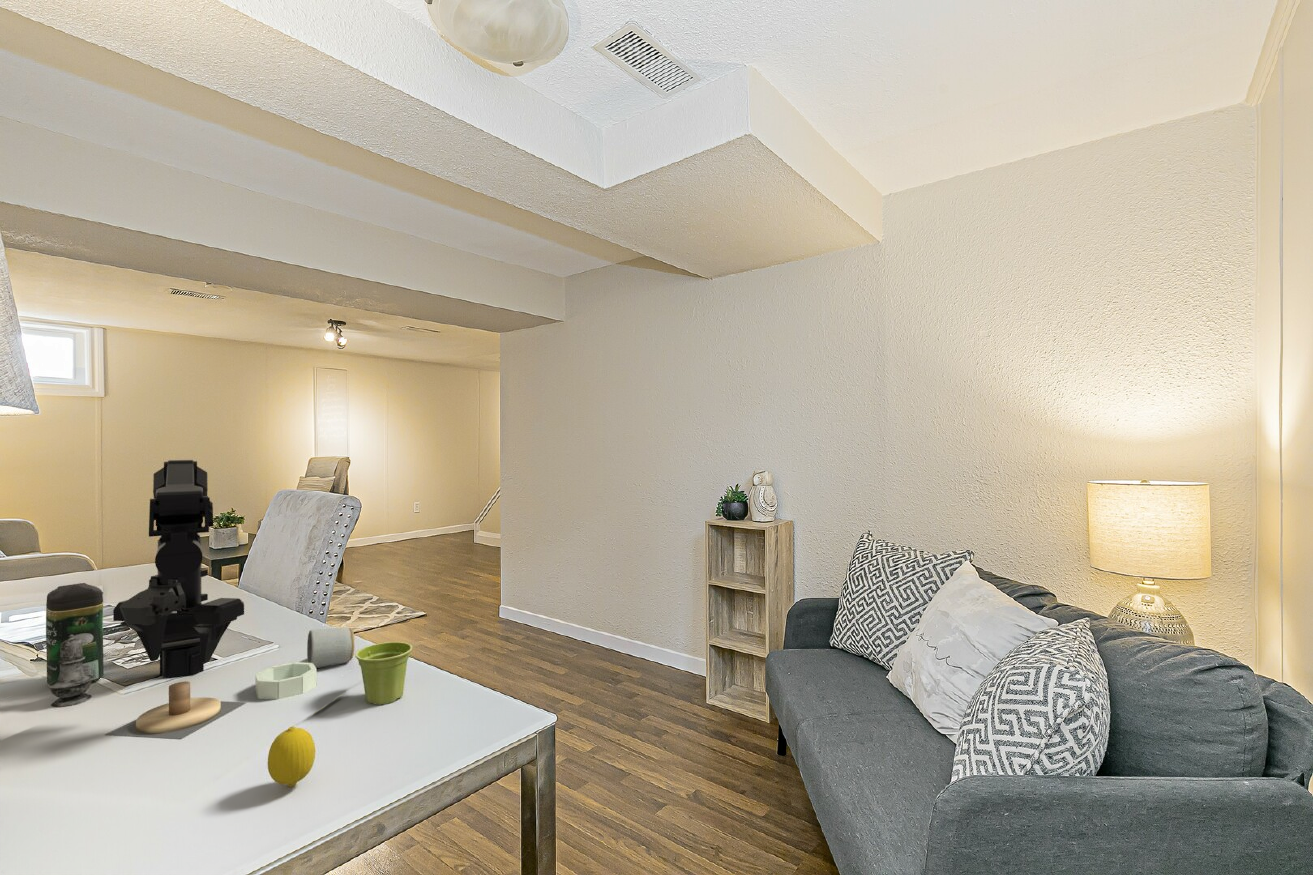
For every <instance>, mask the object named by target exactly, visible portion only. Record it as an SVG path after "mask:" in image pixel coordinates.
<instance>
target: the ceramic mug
mask: <svg viewBox="0 0 1313 875" xmlns="http://www.w3.org/2000/svg"><path fill="white" fill-rule="evenodd" d="M306 646H307V647H306V650H307V651H306V655H307V656H306V658H307V663H313V664H314V666H315V667H316V669H320V668H325V667H331V666H336V665H341V664H346V663H348V662H351V661H352V659H353V658H354V655H355V634H354V630H353V629H352V628H351V627H343V626H341V627H340V626H339V627H331V628H322V629H321V628H320V629H310V630H309V632H308V634H307V643H306Z"/></svg>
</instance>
